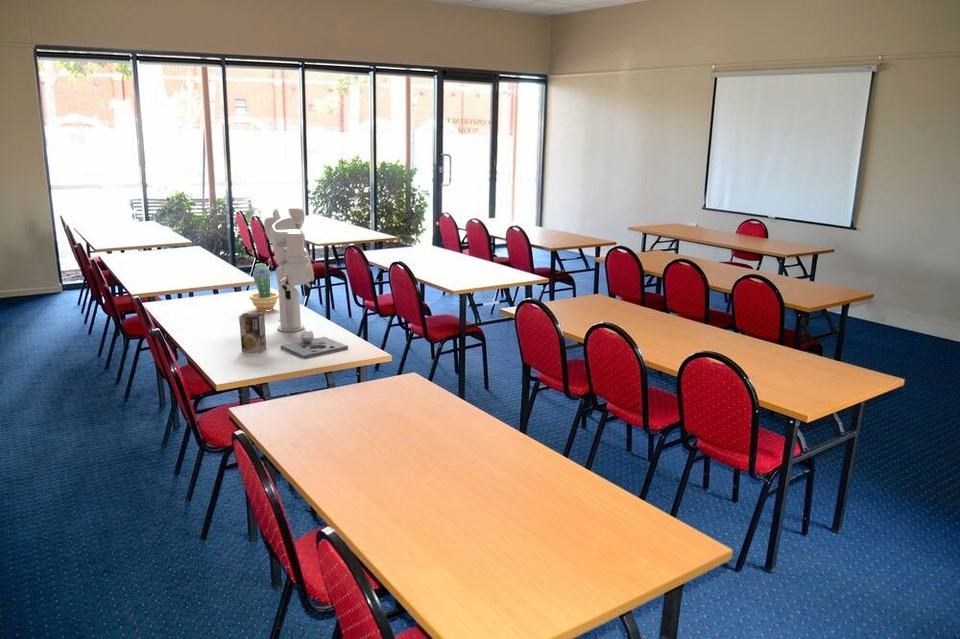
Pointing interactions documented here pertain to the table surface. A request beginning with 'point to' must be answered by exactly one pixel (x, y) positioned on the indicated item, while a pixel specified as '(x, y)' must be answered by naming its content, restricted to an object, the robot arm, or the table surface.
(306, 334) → the metal ball
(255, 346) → the coffee box
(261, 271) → the potted cactus
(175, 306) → the table surface
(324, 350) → the hole board
